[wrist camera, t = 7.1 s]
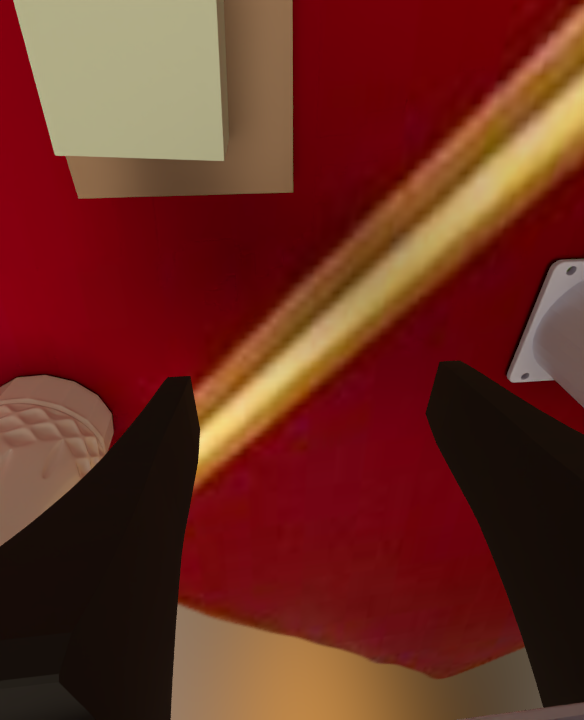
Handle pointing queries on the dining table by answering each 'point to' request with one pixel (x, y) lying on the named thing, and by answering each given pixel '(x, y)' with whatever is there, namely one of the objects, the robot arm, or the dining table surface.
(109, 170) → the walnut base
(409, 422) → the dining table surface
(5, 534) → the white cup
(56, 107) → the green block
